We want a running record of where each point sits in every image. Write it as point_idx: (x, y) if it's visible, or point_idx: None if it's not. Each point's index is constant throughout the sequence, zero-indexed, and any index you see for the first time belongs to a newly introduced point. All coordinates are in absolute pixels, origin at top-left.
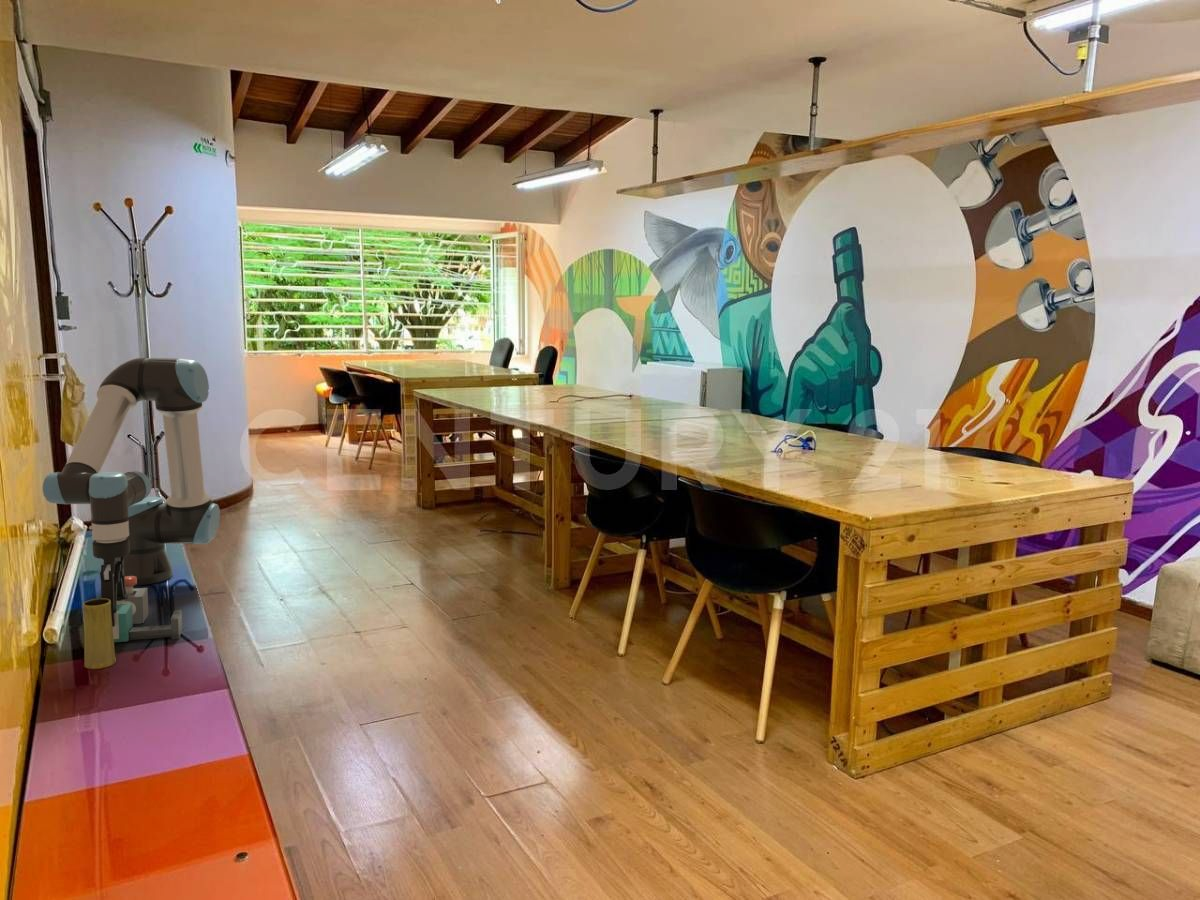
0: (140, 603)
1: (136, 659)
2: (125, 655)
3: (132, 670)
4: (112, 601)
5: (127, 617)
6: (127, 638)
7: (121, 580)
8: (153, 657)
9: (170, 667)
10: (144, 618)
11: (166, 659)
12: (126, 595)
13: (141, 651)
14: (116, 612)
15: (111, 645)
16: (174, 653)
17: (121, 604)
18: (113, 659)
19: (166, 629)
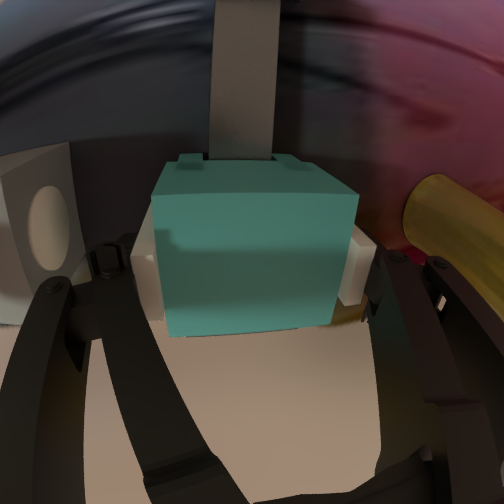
0: (23, 174)
1: (439, 120)
2: (404, 150)
3: (485, 134)
4: (479, 299)
5: (312, 181)
6: (294, 157)
7: (168, 415)
8: (439, 76)
9: (492, 55)
10: (42, 148)
11: (457, 49)
12: (91, 263)
13: (389, 103)
14: (375, 248)
15: (486, 202)
16: (426, 19)
17: (160, 257)
18: (454, 182)
19: (279, 6)
